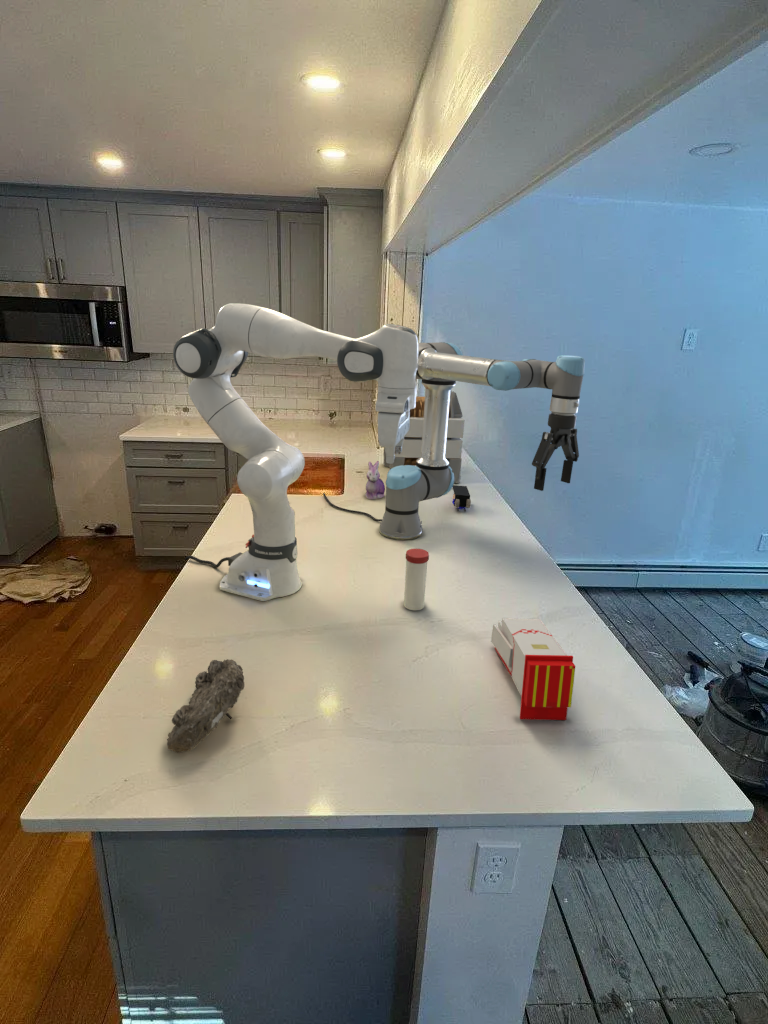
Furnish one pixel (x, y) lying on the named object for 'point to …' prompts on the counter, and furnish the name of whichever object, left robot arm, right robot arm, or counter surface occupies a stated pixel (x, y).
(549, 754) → the counter surface
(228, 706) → the fossil
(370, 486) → the figurine
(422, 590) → the jar
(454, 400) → the white wooden crate
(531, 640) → the toy
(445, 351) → the right robot arm
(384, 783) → the counter surface
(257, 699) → the counter surface
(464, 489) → the figurine character
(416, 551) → the lid
